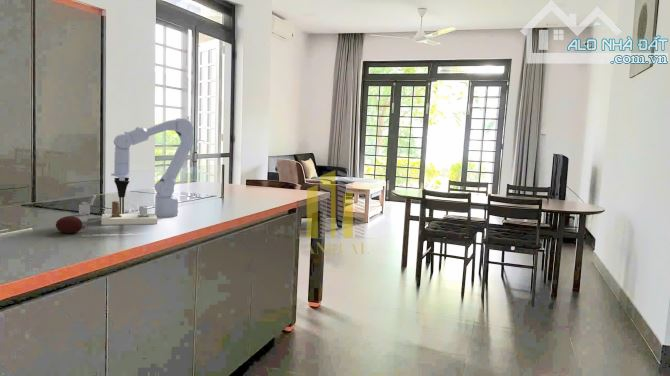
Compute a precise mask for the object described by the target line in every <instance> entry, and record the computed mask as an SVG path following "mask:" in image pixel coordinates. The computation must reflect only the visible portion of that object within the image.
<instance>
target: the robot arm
mask: <svg viewBox="0 0 670 376" xmlns="http://www.w3.org/2000/svg"><path fill="white" fill-rule="evenodd" d="M165 131H172V132H173V131H174V132H175V133H176V134H177V135H178V137H179V140H180V143H179V145H178V147H177V148H176V151H175V152H174V155H173V157H172V159H171V161H170V162H169V165H168V166H167V169H165V170H166V171H165V173H164V174H163V175H162V176H161V178H160V179H159V180H158V181H157V182H156V183H155V185H154V190H155V192H156V194H155V196H154V200H155V201H154V214H156V216H157V217H163V218H164V217H166V218H167V217H178V214H179V209H178V207H179V202H178V200H179V199H178V197H177V196H174V195H173V194H174V192H175V185H176V181H177V177H178V175H179V174H180V171H181V169H182V167H183V165H184V163H185V161H186V159H187V158H188V156H189V153H190V151H191V149H192V148H193V145H194V143H195V138H194V126H193V124H192V122H191V121H190V120H189V119H188V118H182V117H181V118H178V117H177V118H175V119H170V120H165V121H163V122H161V123H158V124H156V125H153V126H150V127H147V128H145V127H139V126H137V127H135V129H133V130H130V131H124V133H123V134H118V135H115V137H114V140H113V144H114V146H115V147H114V162H113V163H114V166H113V167H114V169H113V171H114V173H111V174H110V176H111V177H114V178H113V179H114V180H113V182H114V184H115V186H116V190H117V196H118V198H125V197H126V192H127V188H128V186H129V184H130V180H129V179H130V178H129V177H130V176H131V174H130V162H131V158H130V157H131V156H130V155H131V154H130V147H131V146H135V145H138V144H141V143H143V142H145V141H148V139H149V137H150V136H154V135H156V134H160V133H163V132H165Z"/></svg>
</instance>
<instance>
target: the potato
mask: <svg viewBox="0 0 670 376" xmlns="http://www.w3.org/2000/svg"><path fill="white" fill-rule="evenodd" d="M83 224H84V223H83V221H82V220H81V219H80V218H79V217H76V216H74V215H73V216H72V215H69V216H68V215H67V216H63V217H61V218H58V220H57V221H56V222H55V227H56V230H58V232H61V233H64V234H65V233H66V234H74V233H78V232H79V231H81V230H82V228H83V226H84V225H83Z"/></svg>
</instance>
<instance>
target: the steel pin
mask: <svg viewBox="0 0 670 376" xmlns="http://www.w3.org/2000/svg"><path fill="white" fill-rule="evenodd" d="M139 214H140V215H139V217H147V214H148V206H146V205H145V206H143V205H142V206H139Z"/></svg>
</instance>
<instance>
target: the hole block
mask: <svg viewBox="0 0 670 376" xmlns="http://www.w3.org/2000/svg"><path fill="white" fill-rule="evenodd" d="M139 215H140V213H120V217H112V213H105V214H104V213H103V214H101V223H100V224H101V226H108V225H109V226H112V225H113V226H114V225H116V226H117V225H119V226H120V225H122V226H123V225H157V224H158V216H156V214H155V213H147V217H139Z"/></svg>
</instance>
